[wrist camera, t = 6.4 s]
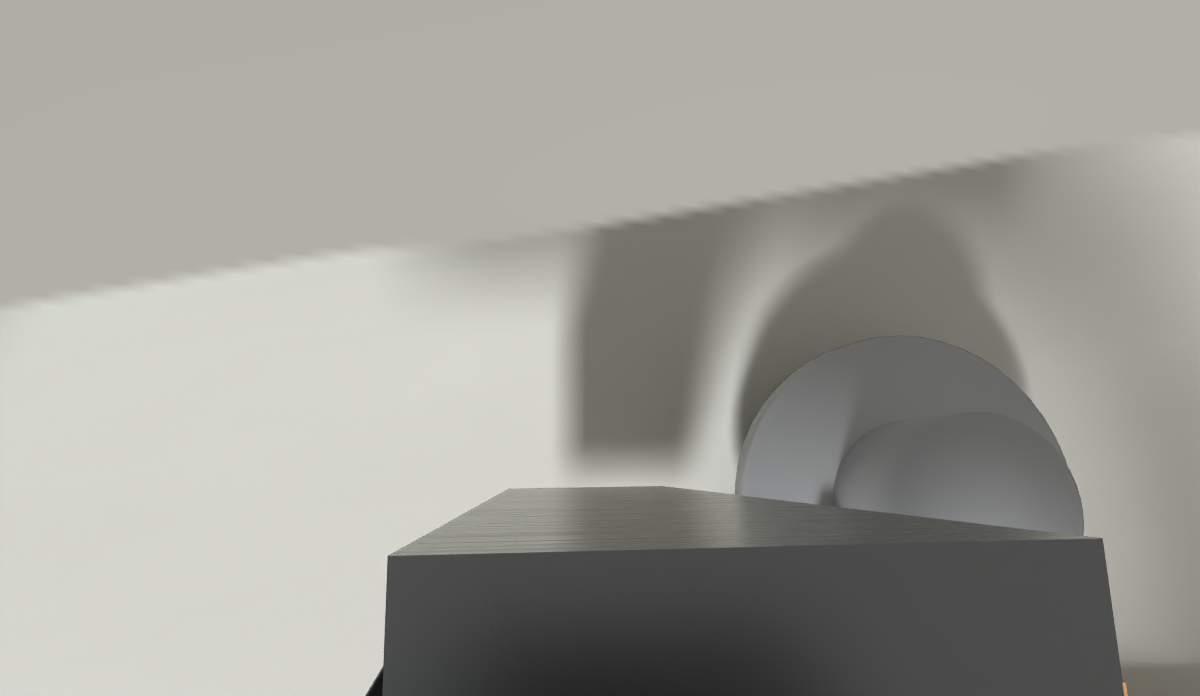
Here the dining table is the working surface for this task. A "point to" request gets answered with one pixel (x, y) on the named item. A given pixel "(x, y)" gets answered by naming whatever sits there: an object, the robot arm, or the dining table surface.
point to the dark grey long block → (741, 602)
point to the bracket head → (910, 440)
